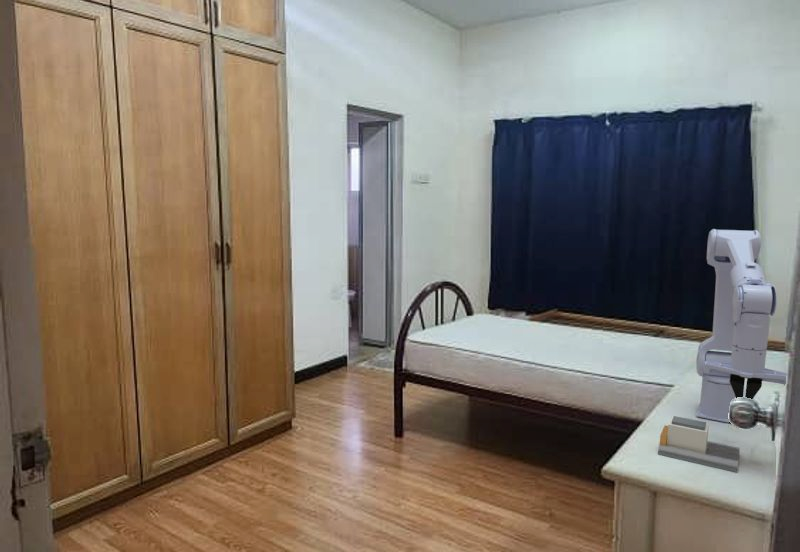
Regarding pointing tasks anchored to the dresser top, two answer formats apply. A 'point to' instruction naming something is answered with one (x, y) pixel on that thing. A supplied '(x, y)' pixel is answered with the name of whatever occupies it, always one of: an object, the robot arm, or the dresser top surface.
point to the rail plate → (714, 456)
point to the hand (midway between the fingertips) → (742, 413)
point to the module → (688, 434)
